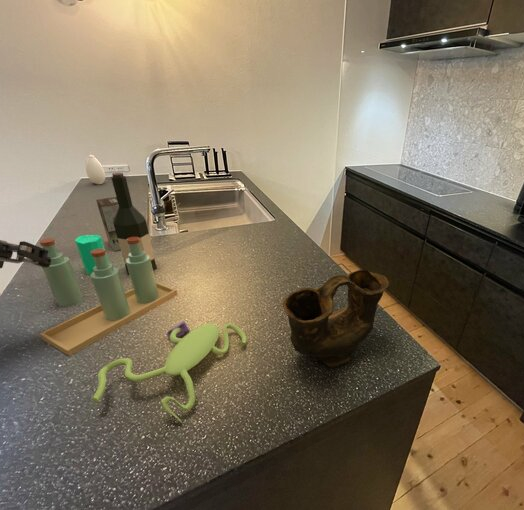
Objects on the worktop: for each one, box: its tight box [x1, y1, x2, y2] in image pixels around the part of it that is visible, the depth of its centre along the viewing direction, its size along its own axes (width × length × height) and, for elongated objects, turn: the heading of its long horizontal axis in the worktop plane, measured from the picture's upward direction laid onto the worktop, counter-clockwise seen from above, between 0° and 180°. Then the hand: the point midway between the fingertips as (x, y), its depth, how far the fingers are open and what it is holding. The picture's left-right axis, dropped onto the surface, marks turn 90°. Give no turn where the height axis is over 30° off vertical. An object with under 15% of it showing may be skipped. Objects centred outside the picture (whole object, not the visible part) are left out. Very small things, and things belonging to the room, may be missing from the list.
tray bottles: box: [90, 237, 159, 321], centre depth 75 cm, size 13×5×18 cm, turn 155°
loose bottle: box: [38, 237, 84, 307], centre depth 75 cm, size 5×5×18 cm
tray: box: [39, 281, 179, 357], centre depth 76 cm, size 26×10×2 cm, turn 155°
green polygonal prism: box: [74, 233, 110, 275], centre depth 91 cm, size 6×6×12 cm
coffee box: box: [96, 196, 121, 252], centre depth 105 cm, size 9×6×16 cm
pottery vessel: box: [281, 269, 390, 369], centre depth 67 cm, size 25×11×20 cm, turn 127°
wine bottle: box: [110, 172, 158, 276], centre depth 88 cm, size 8×8×30 cm
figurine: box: [91, 320, 248, 424], centre depth 62 cm, size 18×27×6 cm
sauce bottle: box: [85, 150, 106, 185], centre depth 166 cm, size 8×8×18 cm
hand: (25, 263), depth 65 cm, fingers open, 8 cm apart
